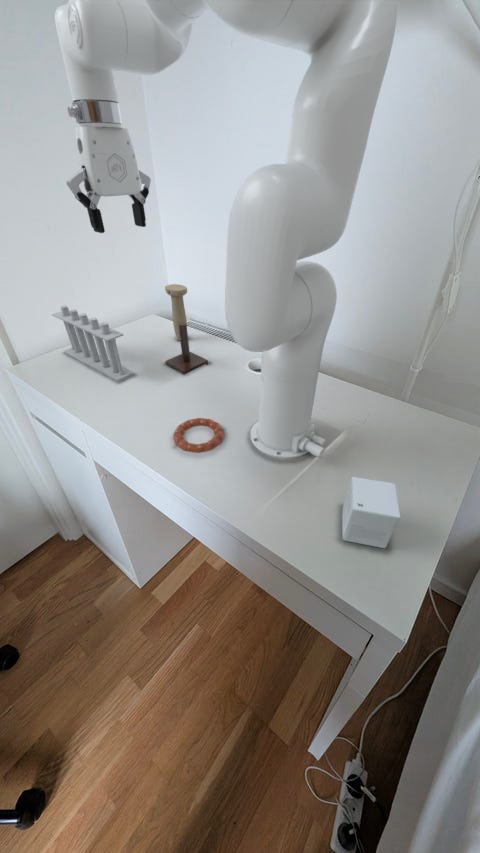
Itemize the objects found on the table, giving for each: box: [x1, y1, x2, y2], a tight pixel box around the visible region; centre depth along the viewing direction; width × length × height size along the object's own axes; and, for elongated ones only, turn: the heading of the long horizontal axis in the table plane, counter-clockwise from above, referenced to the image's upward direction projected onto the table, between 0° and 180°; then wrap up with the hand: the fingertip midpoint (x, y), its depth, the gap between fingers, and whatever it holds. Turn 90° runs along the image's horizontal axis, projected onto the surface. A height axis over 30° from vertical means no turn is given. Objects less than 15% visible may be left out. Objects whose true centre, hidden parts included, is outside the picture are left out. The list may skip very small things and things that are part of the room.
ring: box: [172, 417, 225, 454], centre depth 65 cm, size 10×10×2 cm
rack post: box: [164, 322, 209, 375], centre depth 86 cm, size 8×8×11 cm
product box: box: [341, 476, 401, 549], centre depth 48 cm, size 6×6×7 cm
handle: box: [164, 283, 188, 342], centre depth 97 cm, size 5×6×15 cm
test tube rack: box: [51, 304, 134, 383], centre depth 85 cm, size 25×4×13 cm, turn 51°
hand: (120, 228), depth 70 cm, fingers open, 9 cm apart
